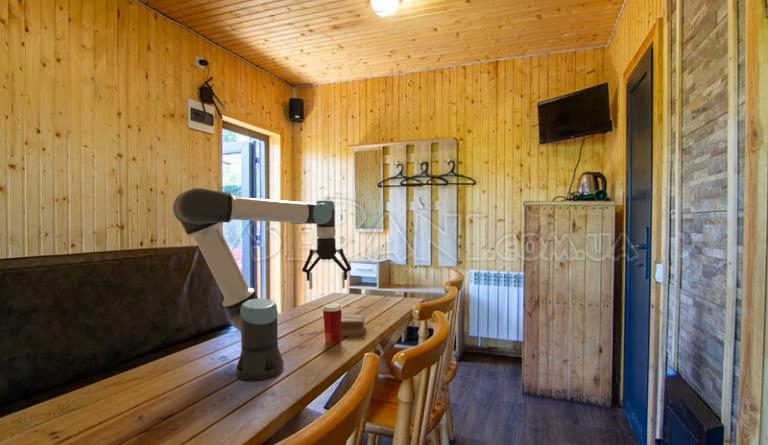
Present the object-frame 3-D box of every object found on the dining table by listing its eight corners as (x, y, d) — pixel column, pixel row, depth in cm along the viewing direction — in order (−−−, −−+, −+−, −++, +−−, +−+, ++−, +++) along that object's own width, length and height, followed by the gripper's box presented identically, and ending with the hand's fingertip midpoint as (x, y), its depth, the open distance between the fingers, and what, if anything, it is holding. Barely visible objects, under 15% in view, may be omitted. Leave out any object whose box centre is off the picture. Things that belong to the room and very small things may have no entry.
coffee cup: (344, 338, 155) (344, 303, 155) (340, 345, 147) (339, 308, 147) (325, 338, 156) (324, 303, 156) (320, 344, 148) (319, 307, 148)
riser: (362, 335, 158) (362, 321, 158) (335, 336, 158) (334, 321, 158) (364, 327, 170) (364, 314, 170) (338, 327, 170) (338, 314, 170)
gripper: (356, 236, 156) (357, 285, 157) (298, 237, 156) (299, 287, 156) (355, 237, 149) (356, 289, 149) (294, 238, 148) (295, 290, 148)
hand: (327, 288), depth 152 cm, fingers open, 13 cm apart
